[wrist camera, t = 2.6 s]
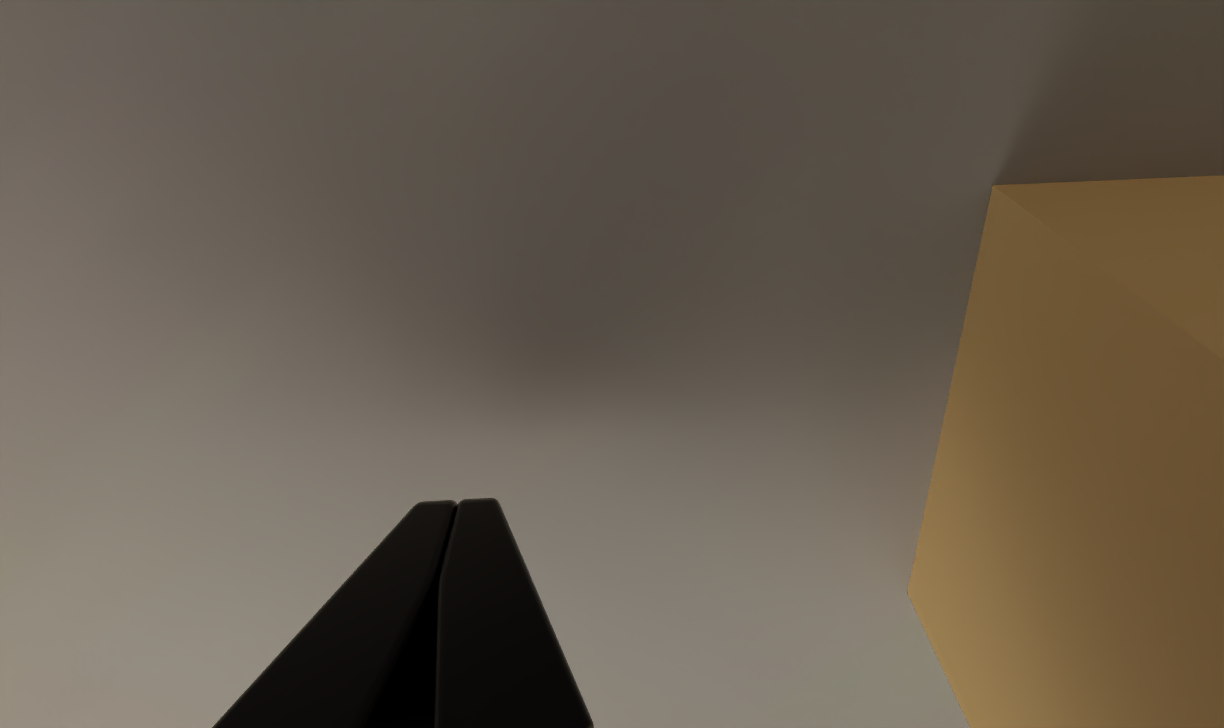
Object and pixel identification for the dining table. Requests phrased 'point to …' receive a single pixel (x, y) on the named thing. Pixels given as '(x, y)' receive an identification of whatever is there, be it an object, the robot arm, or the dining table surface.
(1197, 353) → the stepped block
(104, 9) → the dining table surface
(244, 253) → the dining table surface
